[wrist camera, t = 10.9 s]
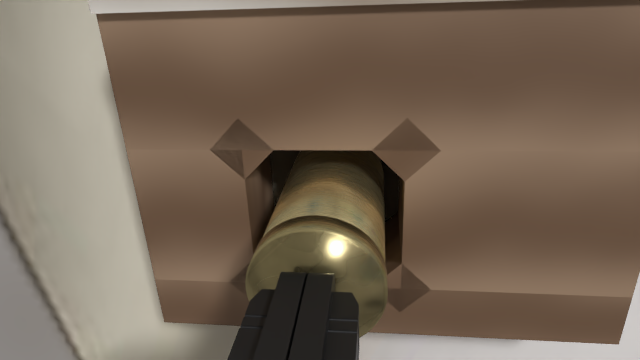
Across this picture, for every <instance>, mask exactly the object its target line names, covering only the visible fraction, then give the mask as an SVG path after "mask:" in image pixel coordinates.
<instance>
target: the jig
mask: <svg viewBox="0 0 640 360" xmlns="http://www.w3.org/2000/svg"><path fill="white" fill-rule="evenodd" d="M88 4H89V8H90V12H91V14H96V15H97V20H98V24H99V29H100V33H101V38H102V42H103V47H104V51H105V56H106V60H107V65H108V69H109V74H110V78H111V83H112V87H113V92H114V96H115V101H116V105H117V110H118V114H119V119H120V123H121V128H122V133H123V137H124V142H125V146H126V151H127V155H128V160H129V164H130V169H131V173H132V178H133V182H134V187H135V191H136V196H137V200H138V205H139V209H140V214H141V218H142V223H143V227H144V232H145V236H146V241H147V245H148V250H149V254H150V259H151V263H152V268H153V272H154V277H155V282H156V286H157V291H158V295H159V300H160V304H161V309H162V313H163V318H164V322H173V323H194V324H214V325H234V326H241V323H242V320H243V318H244V317H245V313H246V310H247V307H248V305H249V300H248V297H247V292H246V284H245V280H246V273H247V269H248V266H249V264H250V261H251V259H252V257H253V254H254V252H255V250H256V248H257V245H258V244H259V242H260V241H261V239H262V237H263V235H264V233H265V230H266V228H267V226H268V223H269V221H270V218H271V216H272V214H273V211H274V198H273V186H272V175H271V164H270V153H271V152H272V151H273V150H372V151H373V152H374V153H375V154H376V155H377V156H378V157H379V158H380V159H381V160H382V161H383V162H385V163H386V164H387V165H388V166H389V167H390V168H391V169H392V170H393V171H394V172H395V173H396V174H397V175H398V176H399V196H398V212H397V213H396V214H395V215H394V216H393V217H391V218H390V219H389V220H388V221H387V222H385V264H386V268H387V286H388V297H387V304H386V307H385V310H384V312H383V315H382V317H381V318H380V320H379V321H378V323H377V324H376V325H375V326H374V327H373V328H372V329H371V330H370V331H369V332H377V333H397V334H418V335H438V336H459V337H479V338H499V339H520V340H540V341H560V342H581V343H601V344H619V341H620V338H621V334H622V331H623V327H624V324H625V321H626V317H627V314H628V310H629V307H630V303H631V300H632V296H633V293H634V289H635V286H636V282H637V279H638V275H639V272H640V0H88Z"/></svg>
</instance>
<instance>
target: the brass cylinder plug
mask: <svg viewBox="0 0 640 360" xmlns="http://www.w3.org/2000/svg"><path fill="white" fill-rule="evenodd" d="M281 272H307V273H309V272H311V273H334V274H335V292H352V293H353V295H354V297H355V299H356V300H357V302H358V304H359V338H360V337H361V336H363V335H364V334H366V333H367V332H369V331H370V330H371V329H372V328H373V327H374V326H375V325H376V324H377V323H378V321H379V320H380V318H381V317H382V315H383V312H384V310H385V307H386V304H387V297H388V286H387V268H386V264H385V218H384V173H383V167H382V164H381V161H380V159H379V157H378V156H377V155H376V154H375V153H374V152H373V151H372V150H301V151H300V152H299V154H298V155H297V157H296V160H295V162H294V164H293V167H292V169H291V171H290V174H289V176H288V178H287V181H286V183H285V185H284V188H283V190H282V193H281V195H280V197H279V200H278V202H277V204H276V207H275V209H274V211H273V214H272V216H271V218H270V221H269V223H268V226H267V228H266V230H265V233H264V235H263V237H262V239H261V241H260V242H259V244H258V245H257V248H256V250H255V252H254V254H253V257H252V259H251V261H250V264H249V266H248V269H247V273H246V280H245V284H246V292H247V297H248V300H249V302H250V300H251V299H252V298H253V297H254V296H255V295H256V294H257V293H258V292H259V291H260V290H261V289H275V288H276V285H277V282H278V279H279V276H280V273H281Z"/></svg>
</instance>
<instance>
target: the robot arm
mask: <svg viewBox="0 0 640 360" xmlns="http://www.w3.org/2000/svg"><path fill="white" fill-rule="evenodd" d="M228 360H359V304H358V302H357V300H356V299H355V297H354V295H353V293H352V292H335V274H334V273H311V272H309V273H307V272H281V273H280V276H279V279H278V282H277V285H276V288H275V289H261V290H260V291H259V292H258V293H257V294H256V295H255V296H254V297H253V298H252V299H251V300H250V302H249V305H248V307H247V310H246V313H245V317H244V318H243V320H242V323H241V328H239V331H238V334H237V336H236V339H235V341H234V344H233V347H232V349H231V352H230V355H229V357H228Z"/></svg>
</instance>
